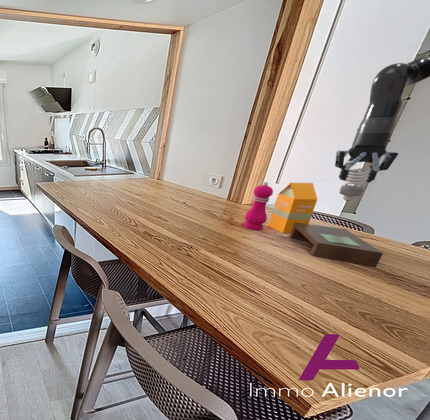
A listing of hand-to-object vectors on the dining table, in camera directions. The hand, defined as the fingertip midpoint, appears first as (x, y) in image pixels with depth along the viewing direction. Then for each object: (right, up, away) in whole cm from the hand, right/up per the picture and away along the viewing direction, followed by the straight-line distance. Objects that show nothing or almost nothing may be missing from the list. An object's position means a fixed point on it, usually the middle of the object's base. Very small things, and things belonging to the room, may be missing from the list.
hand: (354, 180), depth 87 cm
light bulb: (0, -7, +3) cm, 8 cm away
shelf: (-14, -25, -3) cm, 28 cm away
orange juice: (-11, -19, +15) cm, 26 cm away
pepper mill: (-23, -18, +17) cm, 34 cm away
